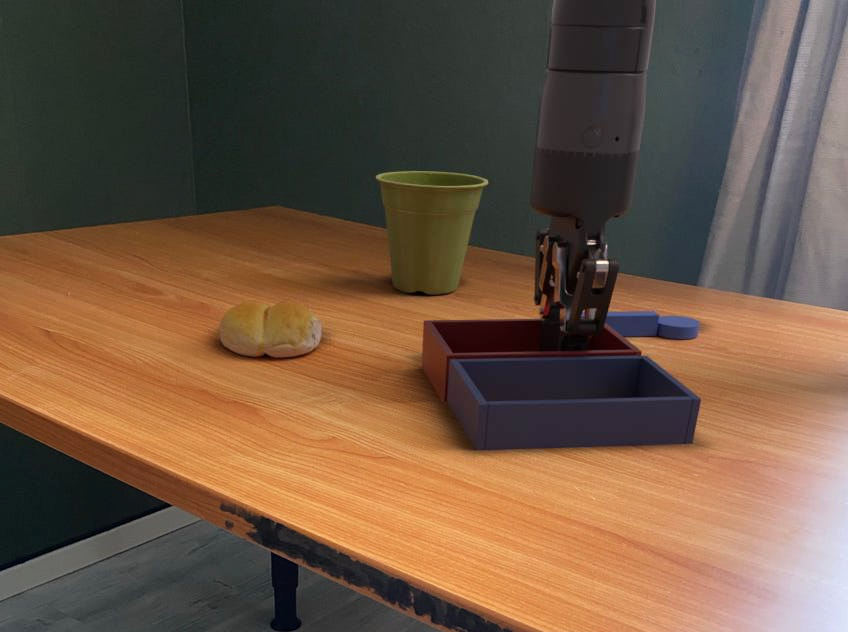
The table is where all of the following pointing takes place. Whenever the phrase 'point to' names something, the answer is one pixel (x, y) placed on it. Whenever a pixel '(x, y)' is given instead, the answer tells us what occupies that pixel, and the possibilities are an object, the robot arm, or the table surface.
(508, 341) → the red bin
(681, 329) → the spoon blue
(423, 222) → the plant pot
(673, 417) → the blue bin
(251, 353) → the bread roll
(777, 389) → the table surface
